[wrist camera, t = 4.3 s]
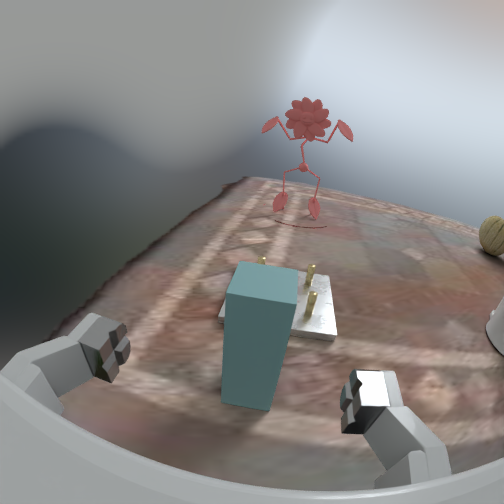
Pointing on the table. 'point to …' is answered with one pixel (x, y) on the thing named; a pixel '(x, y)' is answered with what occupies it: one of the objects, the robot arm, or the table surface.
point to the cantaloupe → (492, 235)
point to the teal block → (256, 332)
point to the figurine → (310, 125)
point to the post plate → (309, 306)
